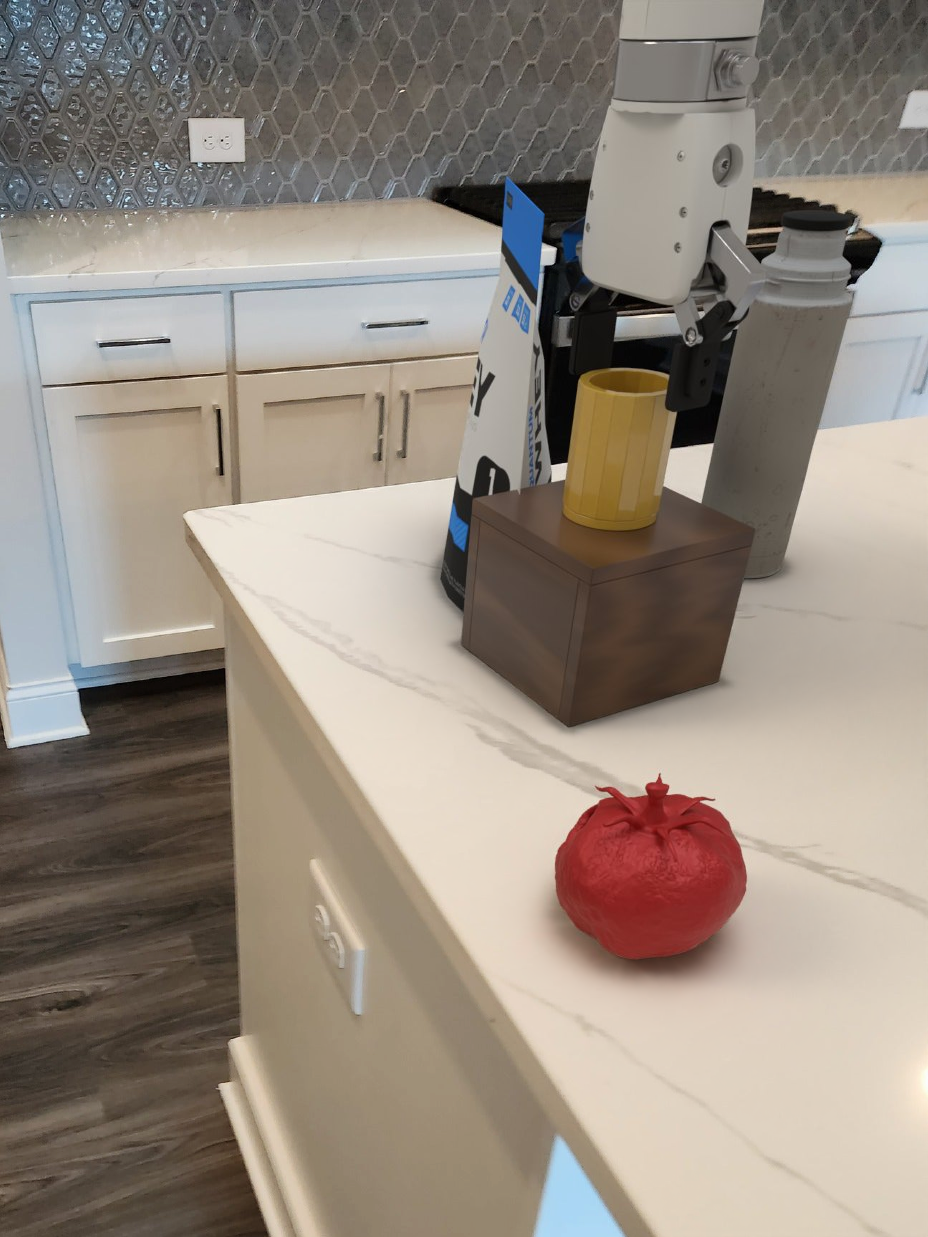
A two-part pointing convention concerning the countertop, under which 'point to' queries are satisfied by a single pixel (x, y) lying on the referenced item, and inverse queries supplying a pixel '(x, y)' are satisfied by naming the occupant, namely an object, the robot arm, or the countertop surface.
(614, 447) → the cup
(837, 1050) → the countertop surface
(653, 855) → the pomegranate
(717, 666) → the walnut box
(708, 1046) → the countertop surface
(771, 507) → the thermos bottle
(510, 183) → the protein powder
